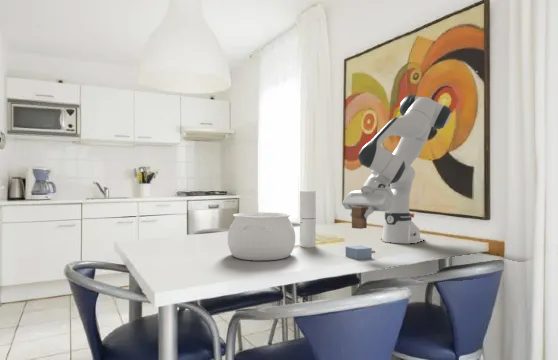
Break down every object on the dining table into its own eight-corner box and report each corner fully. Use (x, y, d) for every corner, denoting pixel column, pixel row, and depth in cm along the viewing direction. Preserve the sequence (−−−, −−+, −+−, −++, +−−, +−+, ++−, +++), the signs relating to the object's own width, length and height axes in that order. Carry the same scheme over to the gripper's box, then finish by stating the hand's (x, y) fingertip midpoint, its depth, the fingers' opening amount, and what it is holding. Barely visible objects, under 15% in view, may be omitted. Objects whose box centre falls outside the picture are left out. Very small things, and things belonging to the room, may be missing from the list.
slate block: (360, 255, 149) (360, 245, 149) (371, 258, 143) (371, 248, 143) (345, 256, 146) (345, 246, 146) (356, 260, 140) (356, 249, 140)
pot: (288, 265, 130) (288, 218, 130) (215, 262, 135) (216, 217, 135) (300, 250, 159) (300, 212, 159) (240, 248, 164) (240, 211, 164)
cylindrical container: (310, 247, 165) (310, 191, 165) (296, 246, 169) (296, 190, 170) (318, 245, 171) (318, 190, 171) (305, 244, 175) (305, 190, 175)
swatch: (361, 249, 160) (361, 248, 160) (375, 252, 155) (375, 251, 155) (353, 251, 157) (353, 250, 157) (367, 253, 152) (367, 252, 152)
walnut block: (357, 227, 147) (357, 206, 147) (366, 227, 144) (366, 207, 144) (351, 227, 144) (351, 207, 145) (360, 228, 142) (360, 207, 142)
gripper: (348, 185, 157) (333, 209, 150) (392, 185, 142) (377, 212, 135) (354, 195, 160) (340, 220, 153) (398, 196, 145) (384, 224, 138)
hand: (358, 216), depth 144 cm, fingers closed on walnut block, 4 cm apart
